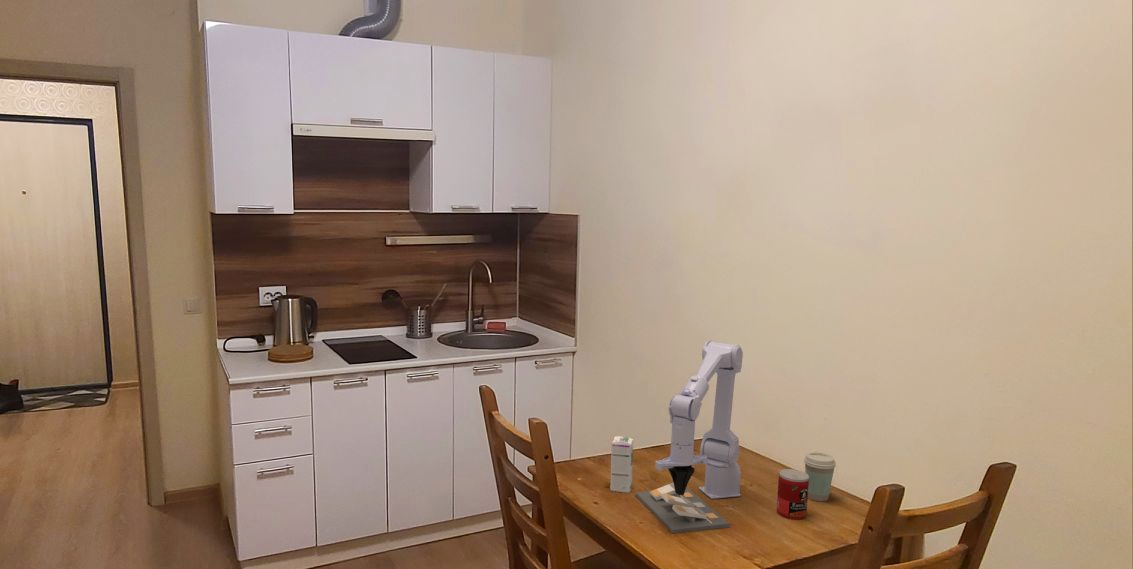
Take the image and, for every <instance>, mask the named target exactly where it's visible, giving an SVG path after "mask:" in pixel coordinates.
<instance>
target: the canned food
mask: <svg viewBox="0 0 1133 569" xmlns="http://www.w3.org/2000/svg"><path fill="white" fill-rule="evenodd" d="M777 483H778V484H777V497H776V498H777V499H776V511H777V514H779V516H781V515H782V517H783V516H784V518H786V519H789V518H791V519H790V520H802V519H804V518H805V517H806V515H807V512H808V499H809V498H808V487H809V476H808V474H806V472H804V471H802V470H798V469H794V468H793V469H792V468H784V469H780V470H779V473H778V482H777ZM801 518H802V519H801Z"/></svg>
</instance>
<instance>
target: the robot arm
mask: <svg viewBox="0 0 1133 569" xmlns="http://www.w3.org/2000/svg"><path fill="white" fill-rule="evenodd" d="M701 355H702V362H701V363H700V365H699V368H698V370H697V372H696V374H695V375H692V376H690V377H689V378H688V380H687V381H686V382H685V384H684V386H683V387H682V389H681V391H680V392H679V394H675V395H673V396H672V397H671V399H670V401H669V405H668V414H669V417H670V419H669V420H670V421H669V422H670V424H671V436H670V437H671V438H670V439H671V440H670V441H671V442H670V454H669V456H668V457H664V458H663V459H660V460H655V465H654V468H655V470H657V471H658V472H660V471H661V472H663V470H668V471H669V474H670V476H671V478H672V483H674V487H675V493H677V494H678V495H684V493H685V490H686V488H688V484H689V482H690V480H691V477H692V476H693V475H694V474H695V467H693V466H695V465H705V476H704V485H703V486H698V489H699V490H700V491H701V492H702V493H704V494H705V495H706V496H707V497H708V498H710V499H711V500H714V499H715V500H717V499H724V498H725V499H726V498H737V497H741V496H742V494H741V493H740V489H741V479H742V478H741V475H742V473H741V468H740V465H739V464H738V463H737V462H738V459H739V457H740V446H739V445H740V444H739V442H740V439H739V437H738V436H737V435H736V434H735V433H734V432H733V431H732V430H731V423H732V422H731V421H732V413H733V412H732V409H733V399H734V390H735V381H736V380H735V379H736V374H738V373H741V371H742V367H743V366H742V365H743V357H744V353H743V349H742V347H741V346H740V345H739V344H732V343H724V342H717V341H712V340H707V341H706V342H704V344H703V347H702V352H701ZM715 374H716V375H717V377H716V386H715V388H716V389H715V394H714V396H715V397H714V408H713V417H712V418H713V419H712V428H710V429H708V430H706V431H705V432H704V433H703V435H702V439H701V440H702V441H701V443H700V448H699V451H700V452H699V453H700V454H694V445H695V431H696V420H697V419H698V417H699V416H700V412H701V407H702V401H703V399H704V398H705V396H706V395H707V393H708V391H709V389H710V385H709V382H710V381H711V379H712V378H713V376H714V375H715Z"/></svg>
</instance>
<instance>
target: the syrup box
mask: <svg viewBox="0 0 1133 569" xmlns="http://www.w3.org/2000/svg"><path fill="white" fill-rule="evenodd" d="M610 455H611V456H610V483H609V485H610V487H609V488H610V489H609V490H610V491H611V492H618V493H627V494H628V493H631V490H632V487H633V471H634V470H633V469H634V465H633V464H634V438H633V437H630V436H620V435H619V436H614V438H613V439H612V441H611V453H610Z"/></svg>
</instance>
